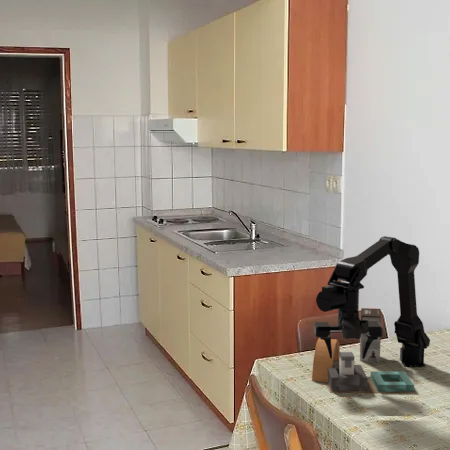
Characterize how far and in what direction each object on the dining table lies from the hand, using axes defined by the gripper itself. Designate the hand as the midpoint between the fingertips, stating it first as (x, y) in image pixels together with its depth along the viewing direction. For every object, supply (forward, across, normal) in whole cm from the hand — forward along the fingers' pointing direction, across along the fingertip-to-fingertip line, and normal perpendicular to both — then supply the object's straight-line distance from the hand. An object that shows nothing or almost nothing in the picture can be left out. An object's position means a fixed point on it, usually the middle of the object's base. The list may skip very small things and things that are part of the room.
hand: (347, 358), depth 178 cm
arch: (+9, -4, +11) cm, 15 cm away
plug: (+8, 0, 0) cm, 8 cm away
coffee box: (+9, +11, +23) cm, 27 cm away
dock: (+9, +6, 0) cm, 11 cm away
